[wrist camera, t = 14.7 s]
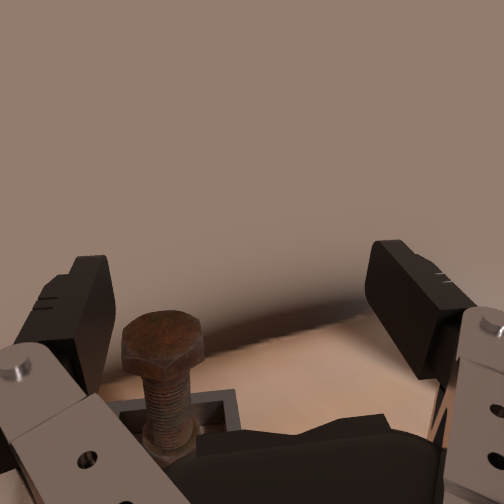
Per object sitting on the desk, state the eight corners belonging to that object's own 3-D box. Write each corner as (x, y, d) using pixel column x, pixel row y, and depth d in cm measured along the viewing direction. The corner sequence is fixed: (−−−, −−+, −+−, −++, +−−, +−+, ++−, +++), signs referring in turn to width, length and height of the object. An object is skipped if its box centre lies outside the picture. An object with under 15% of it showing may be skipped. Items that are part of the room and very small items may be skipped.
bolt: (144, 450, 35) (123, 310, 28) (202, 440, 36) (196, 302, 29) (144, 519, 30) (119, 370, 23) (211, 505, 31) (207, 358, 24)
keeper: (234, 411, 39) (234, 388, 38) (253, 539, 29) (255, 515, 28) (112, 425, 37) (107, 402, 36) (88, 566, 27) (81, 542, 26)
